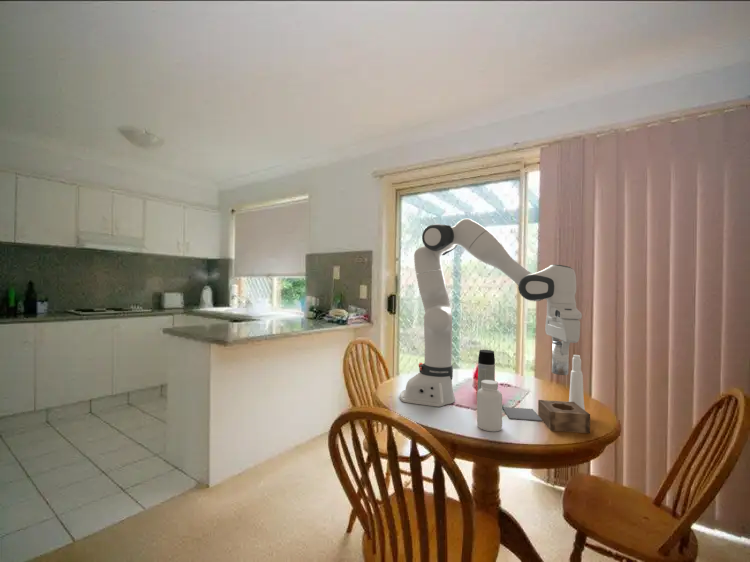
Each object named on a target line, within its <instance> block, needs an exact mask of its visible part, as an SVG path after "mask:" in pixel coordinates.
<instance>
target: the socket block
mask: <svg viewBox="0 0 750 562" xmlns="http://www.w3.org/2000/svg"><path fill="white" fill-rule="evenodd" d="M537 403H538V406H537V407H538V411H537V412H538V413H537V415H538V416H539V417H540V418H541V419H542V420H543V421H542V423H543V424H544V425H545V426H546V427H547V428H548V429H549V430H550V431H553V432H554V431H555V432H556V431H557V432H568V433H581V434H591V414H590V413H589V412H588V411H587V410H586V409H585V410H584V409H582V408H581V407H580V406H578V405H577V404H576V403H575V402H569V401H567V400H566V401H563V400H548V399H538V402H537Z"/></svg>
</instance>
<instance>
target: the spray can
mask: <svg viewBox="0 0 750 562" xmlns="http://www.w3.org/2000/svg"><path fill="white" fill-rule="evenodd" d="M477 359H478V361H477V362H478V363H477V391H478V390H479V389H481V381H482V380H493V381H496V380H495V379H496V376H495V374H496V372H495V371H496V370H495V369H496V367H495V366H496V358H495V351H494V350H491V349H480V350H479V353H478V358H477Z"/></svg>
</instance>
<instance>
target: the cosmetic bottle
mask: <svg viewBox="0 0 750 562" xmlns="http://www.w3.org/2000/svg"><path fill="white" fill-rule="evenodd" d="M572 355H573V356H572V360H571V361H572V365H571V366H572V367H571V368H572V370H570V381H569V395H568V397H569V398H568V402H575V403H576V404H577V405H578V406H580V407H581V408H582V409H584V410H585V411H586V409H585V398H584V377H583V371H582V358H581V355H579V354H572Z"/></svg>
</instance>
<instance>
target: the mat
mask: <svg viewBox="0 0 750 562" xmlns="http://www.w3.org/2000/svg"><path fill="white" fill-rule="evenodd" d="M503 409H504V410H503ZM502 410H503V411H504V413H505V414H506V416H507V417H508V419H509V420H516V421H517V420H519V421H521V420H522V421H531V422H532V421H534V422H543V420H542V419H541V418H540V417H539V416H538V413H536V411H535V410H534V409H533V408H524V407H510V406H502Z"/></svg>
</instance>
